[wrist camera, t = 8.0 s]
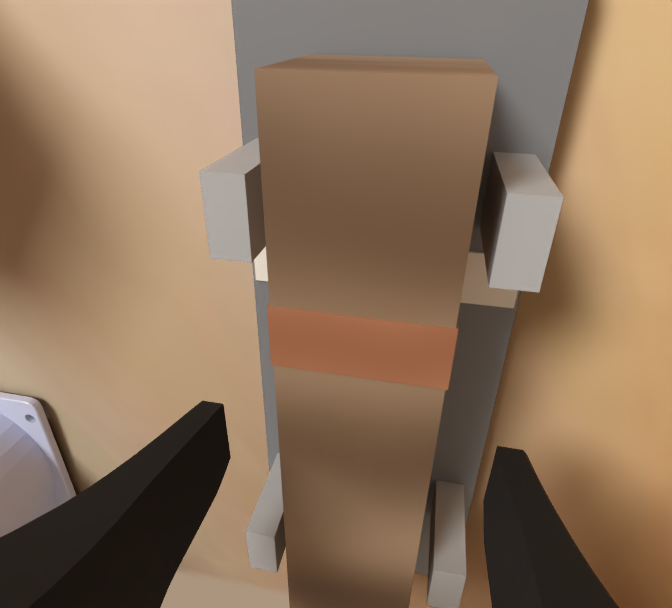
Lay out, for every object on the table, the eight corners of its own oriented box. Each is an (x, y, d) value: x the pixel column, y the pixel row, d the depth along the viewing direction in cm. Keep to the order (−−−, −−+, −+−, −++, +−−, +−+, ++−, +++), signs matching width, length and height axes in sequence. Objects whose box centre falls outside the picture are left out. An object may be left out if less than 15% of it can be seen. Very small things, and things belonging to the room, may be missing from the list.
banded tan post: (411, 541, 20) (403, 649, 17) (316, 522, 21) (289, 622, 17) (485, 59, 11) (502, 77, 7) (310, 53, 12) (250, 68, 8)
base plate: (453, 558, 22) (453, 672, 18) (281, 525, 23) (248, 624, 19) (588, -41, 11) (664, -78, 7) (243, -38, 12) (146, -68, 8)
